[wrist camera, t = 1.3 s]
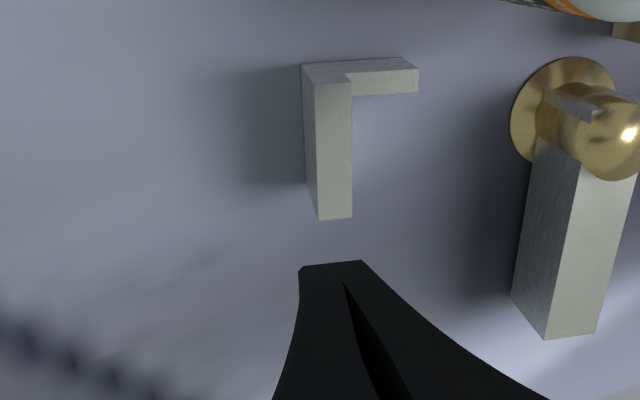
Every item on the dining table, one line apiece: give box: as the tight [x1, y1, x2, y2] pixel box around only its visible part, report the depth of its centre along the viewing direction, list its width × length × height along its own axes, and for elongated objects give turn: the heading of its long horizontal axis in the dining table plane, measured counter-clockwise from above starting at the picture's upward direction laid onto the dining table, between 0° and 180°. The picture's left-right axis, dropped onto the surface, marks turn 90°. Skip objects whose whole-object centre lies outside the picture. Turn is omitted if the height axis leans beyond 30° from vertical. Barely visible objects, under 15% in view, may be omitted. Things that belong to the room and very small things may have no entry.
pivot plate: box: [509, 57, 615, 162], centre depth 21 cm, size 5×5×1 cm
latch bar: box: [510, 82, 640, 341], centre depth 21 cm, size 10×3×3 cm, turn 2°
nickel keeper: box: [301, 57, 419, 221], centre depth 19 cm, size 4×5×3 cm
